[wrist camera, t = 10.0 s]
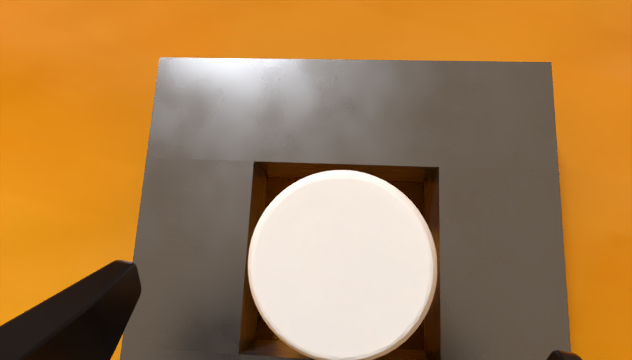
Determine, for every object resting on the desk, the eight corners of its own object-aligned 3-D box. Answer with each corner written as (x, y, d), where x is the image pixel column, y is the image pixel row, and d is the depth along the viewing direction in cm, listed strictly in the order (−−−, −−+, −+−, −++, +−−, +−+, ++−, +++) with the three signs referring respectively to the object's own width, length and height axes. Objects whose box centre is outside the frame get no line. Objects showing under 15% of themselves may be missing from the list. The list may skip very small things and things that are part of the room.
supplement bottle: (423, 233, 18) (509, 202, 9) (373, 348, 17) (409, 453, 8) (313, 183, 19) (284, 105, 9) (261, 291, 18) (171, 324, 9)
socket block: (538, 476, 16) (582, 523, 13) (145, 442, 17) (104, 479, 14) (519, 92, 19) (551, 62, 16) (186, 86, 20) (159, 57, 17)
